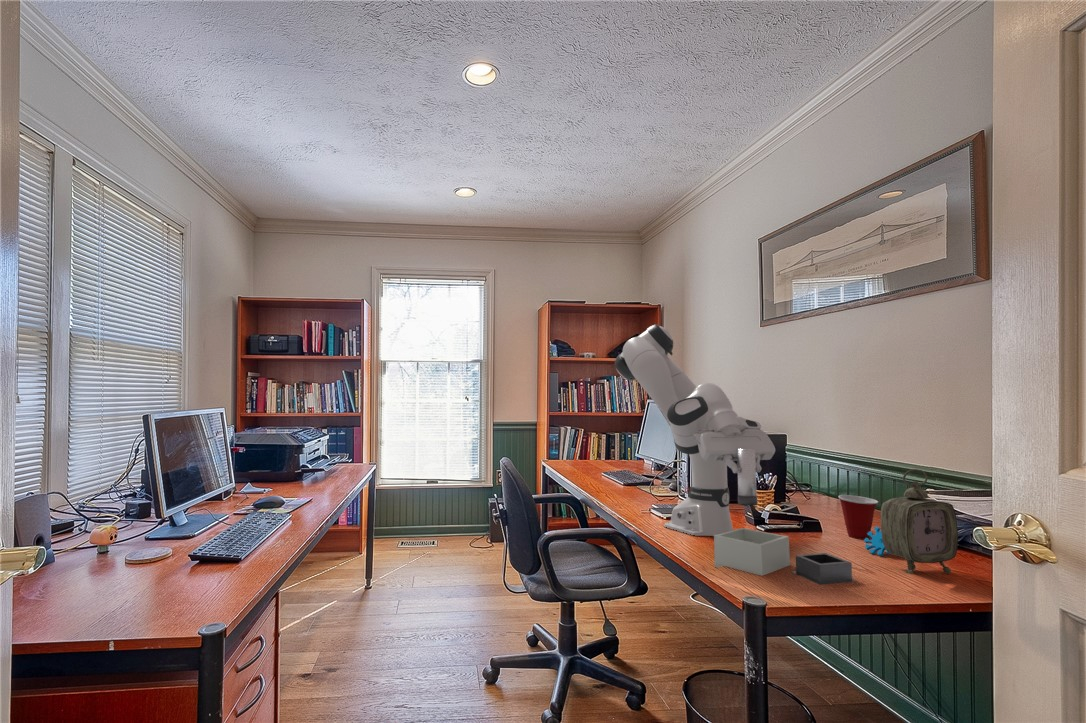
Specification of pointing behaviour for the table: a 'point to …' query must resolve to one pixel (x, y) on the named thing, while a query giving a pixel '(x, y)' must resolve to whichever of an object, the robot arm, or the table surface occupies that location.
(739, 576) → the table surface
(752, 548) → the bin
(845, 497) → the plastic cup
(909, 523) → the tabletop clock
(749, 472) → the strut
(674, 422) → the robot arm
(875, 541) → the gear
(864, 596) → the table surface
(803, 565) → the socket block
